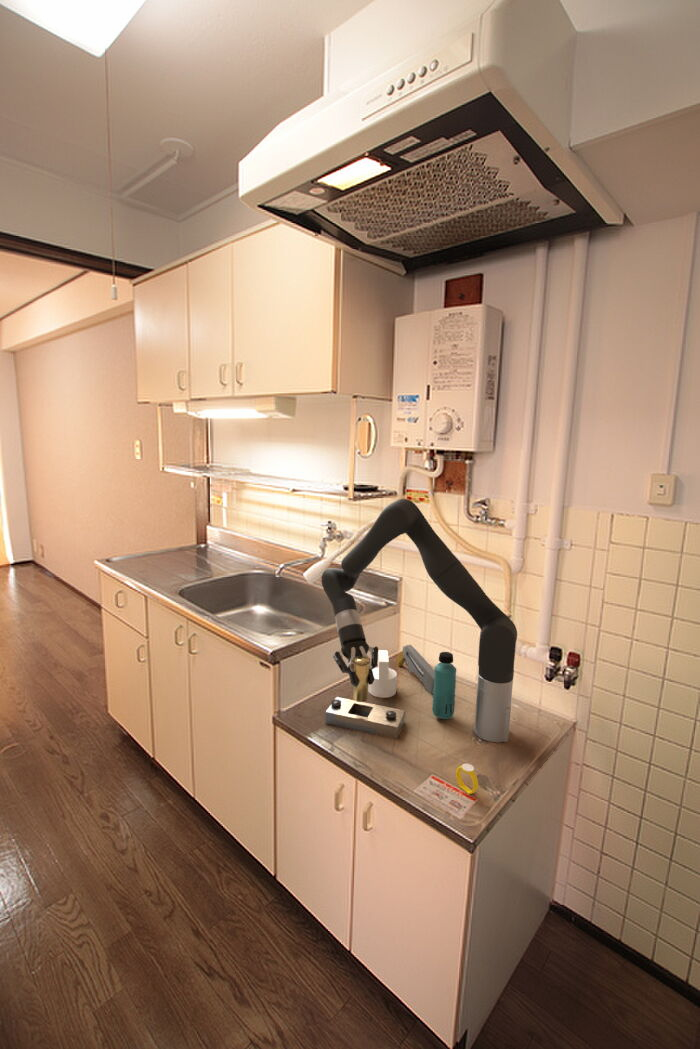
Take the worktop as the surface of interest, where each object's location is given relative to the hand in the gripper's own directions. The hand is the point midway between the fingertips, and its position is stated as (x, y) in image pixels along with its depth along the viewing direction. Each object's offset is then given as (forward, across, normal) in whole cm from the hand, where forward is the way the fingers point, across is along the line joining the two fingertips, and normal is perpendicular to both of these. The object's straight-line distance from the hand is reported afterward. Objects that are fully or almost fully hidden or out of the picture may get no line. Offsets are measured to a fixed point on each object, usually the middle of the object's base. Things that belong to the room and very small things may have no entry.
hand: (363, 684), depth 140 cm
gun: (-5, +28, +23) cm, 37 cm away
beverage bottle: (+12, +24, +6) cm, 27 cm away
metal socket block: (+8, +1, +9) cm, 13 cm away
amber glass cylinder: (+2, 0, +5) cm, 6 cm away
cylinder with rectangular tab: (-3, +14, +21) cm, 25 cm away
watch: (+32, +13, -14) cm, 37 cm away
